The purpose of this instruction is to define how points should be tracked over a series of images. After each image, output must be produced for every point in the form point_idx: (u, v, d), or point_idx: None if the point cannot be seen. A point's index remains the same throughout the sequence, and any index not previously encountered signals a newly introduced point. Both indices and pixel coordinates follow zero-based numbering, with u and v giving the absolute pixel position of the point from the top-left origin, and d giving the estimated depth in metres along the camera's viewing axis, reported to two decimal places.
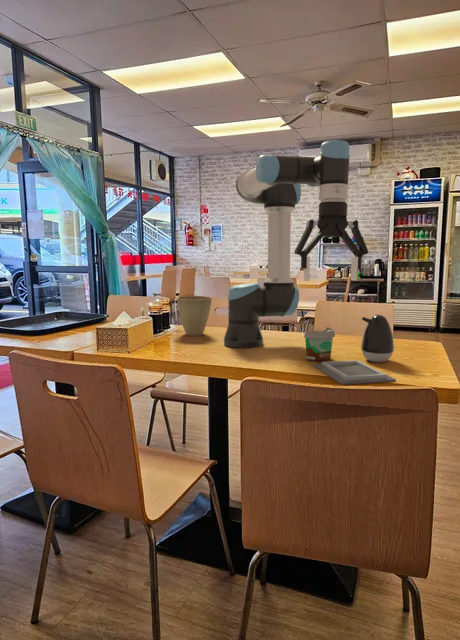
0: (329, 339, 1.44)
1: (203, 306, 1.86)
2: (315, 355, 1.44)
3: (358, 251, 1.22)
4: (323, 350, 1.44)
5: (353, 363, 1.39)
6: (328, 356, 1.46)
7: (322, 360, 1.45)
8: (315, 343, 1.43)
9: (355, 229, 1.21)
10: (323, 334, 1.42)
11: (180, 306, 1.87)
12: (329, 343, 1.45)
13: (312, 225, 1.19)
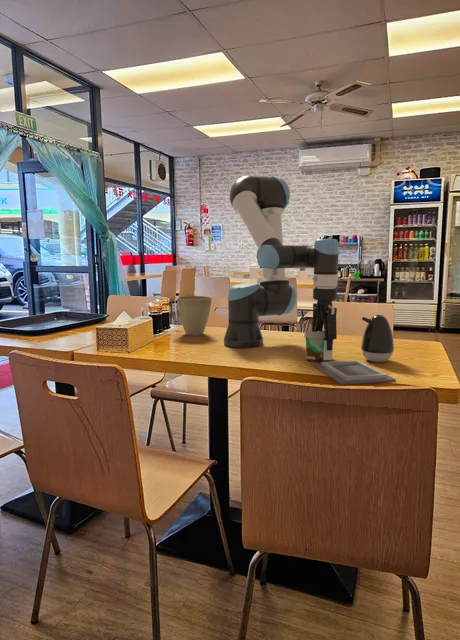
0: None
1: (203, 306, 1.86)
2: (315, 355, 1.44)
3: (326, 335, 1.41)
4: (323, 350, 1.44)
5: (353, 363, 1.39)
6: None
7: (322, 360, 1.44)
8: (315, 343, 1.43)
9: (327, 315, 1.39)
10: (323, 334, 1.42)
11: (180, 306, 1.87)
12: None
13: (314, 307, 1.50)
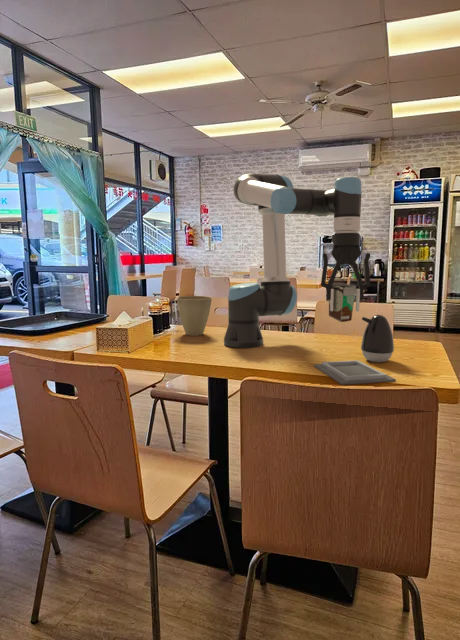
0: None
1: (203, 306, 1.86)
2: (349, 313, 1.30)
3: (361, 284, 1.30)
4: (352, 307, 1.32)
5: (353, 363, 1.39)
6: None
7: (351, 318, 1.33)
8: (351, 299, 1.29)
9: (365, 261, 1.29)
10: (356, 289, 1.30)
11: (180, 306, 1.87)
12: None
13: (326, 258, 1.31)
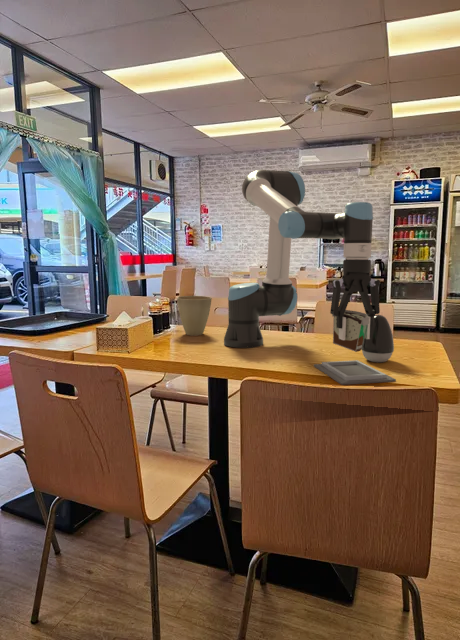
0: None
1: (203, 306, 1.86)
2: (362, 342, 1.27)
3: (371, 311, 1.28)
4: None
5: (353, 363, 1.39)
6: None
7: None
8: (365, 328, 1.26)
9: (375, 288, 1.27)
10: None
11: (180, 306, 1.87)
12: None
13: (339, 285, 1.25)
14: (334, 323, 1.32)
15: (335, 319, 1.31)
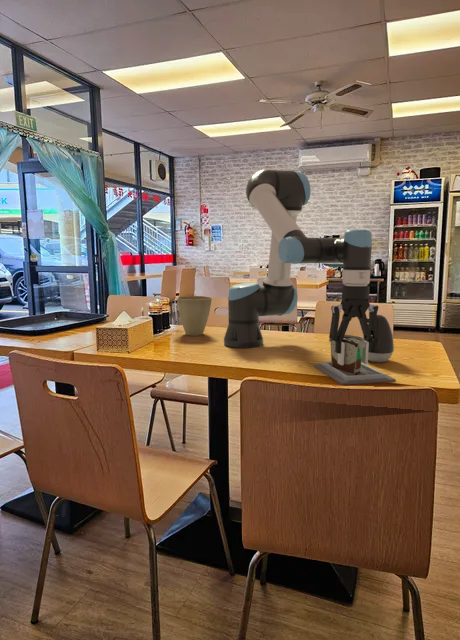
0: None
1: (203, 306, 1.86)
2: (360, 365, 1.28)
3: (370, 336, 1.29)
4: None
5: None
6: None
7: None
8: (362, 351, 1.27)
9: (373, 313, 1.28)
10: (363, 340, 1.29)
11: (180, 306, 1.87)
12: None
13: (338, 311, 1.26)
14: (331, 348, 1.34)
15: (332, 344, 1.33)
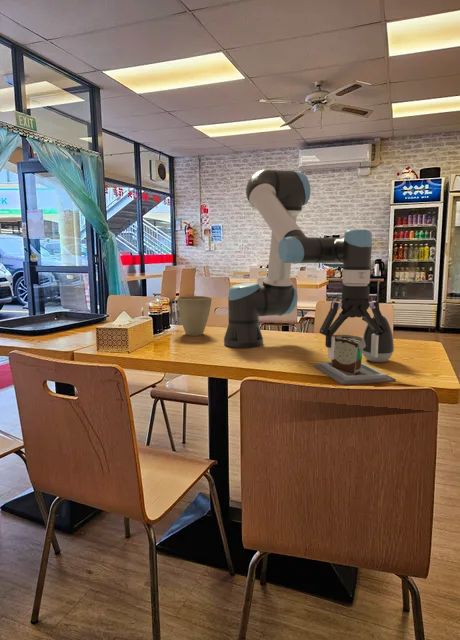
0: None
1: (203, 306, 1.86)
2: (360, 366, 1.28)
3: (379, 330, 1.29)
4: None
5: None
6: None
7: None
8: (362, 352, 1.27)
9: (376, 310, 1.28)
10: (363, 340, 1.29)
11: (180, 306, 1.87)
12: None
13: (337, 307, 1.26)
14: None
15: None
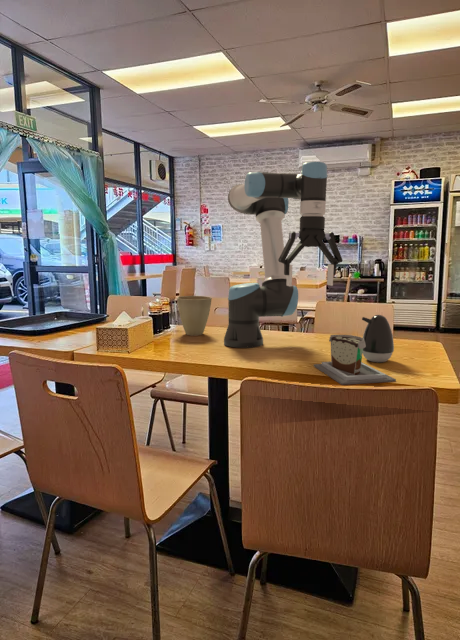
0: None
1: (203, 306, 1.86)
2: (360, 366, 1.28)
3: (334, 259, 1.38)
4: None
5: None
6: None
7: None
8: (362, 352, 1.27)
9: (331, 240, 1.37)
10: (363, 340, 1.29)
11: (180, 306, 1.87)
12: None
13: (294, 237, 1.34)
14: (331, 348, 1.34)
15: (332, 344, 1.33)
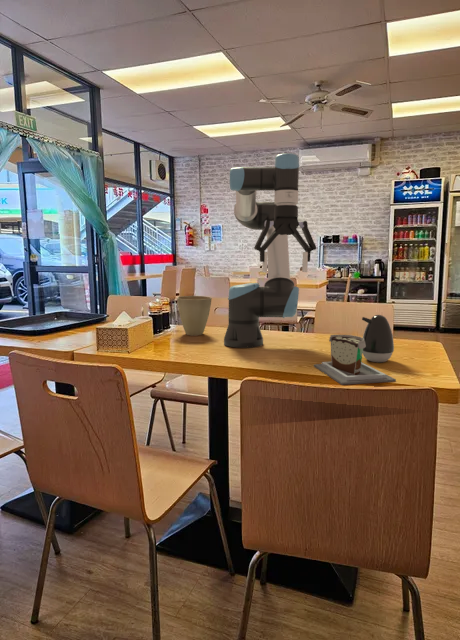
0: None
1: (203, 306, 1.86)
2: (360, 366, 1.28)
3: (308, 247, 1.44)
4: None
5: None
6: None
7: None
8: (362, 352, 1.27)
9: (305, 228, 1.43)
10: (363, 340, 1.29)
11: (180, 306, 1.87)
12: None
13: (268, 225, 1.41)
14: (331, 348, 1.34)
15: (332, 344, 1.33)
